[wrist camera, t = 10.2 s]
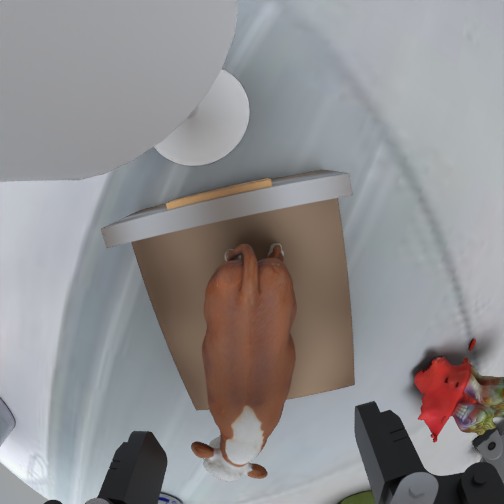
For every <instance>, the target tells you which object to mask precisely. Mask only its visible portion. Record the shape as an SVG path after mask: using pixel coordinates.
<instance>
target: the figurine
mask: <svg viewBox="0 0 504 504" xmlns="http://www.w3.org/2000/svg"><path fill="white" fill-rule="evenodd" d="M498 431H499V430H498V428H497V426H496V428H494V429H489V430H486V431H485V433H484V434H483V435H479V437H478V438H475V439H474V442H473V443H472V444H473V445H474V447H475V448H476V449H478V450H479V452H480V453H481V454H482V455H483V456H482V458H481V460H480V462H487V463H490V464H492V465H493V466H494V467H495V468H496V470H497V471H498V473H499V475H500V477H501V479H502V482H503V484H504V434H502V435H501V436H500V434H499V432H498Z"/></svg>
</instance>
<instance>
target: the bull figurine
mask: <svg viewBox="0 0 504 504" xmlns="http://www.w3.org/2000/svg"><path fill="white" fill-rule="evenodd" d="M241 254H243V256H244V261H243V260H241ZM224 257H225V260H226V262H225V263H223V264H221V265H220V266H219V267H218V268H217V269H216V271H215V272H214V274H213V275H212V277H211V279H210V280H209V282H208V285H207V287H206V291H205V302H204V317H205V320H206V323H207V329H206V335H205V337H204V340H203V344H202V358H203V363H204V370H205V378H206V386H207V394H208V397H207V400H208V405H209V409H210V412H211V414H212V416H213V418H214V421H215V423H216V424H217V426H218V427H219V429H220V432H221V435H220V437H218V438H215V439H214V440H212V441H211V442H210V444H209V445H207V444H204V443H201V442H194V443H192V445H191V449H192V451H193V452H194V453H195V455H196V456H198V457H200V458H203V459H204V462H203V464H204V467H205V469H206V470H207V471H208V472H210V473H212V475H213V476H215V477H217V478H218V479H220V480H224V481H227V482H231V481H234V480H237V479H239V477H240V476H241V474H242V473H245V474H247V475H248V476H250V477H252V478H258V479H261V478H264V477H266V476H267V471H266V469H265V468H264V467H262V466H260V465H258V464H251V463H249V462H250V461H252V460H253V459H254V458H255V457H256V456H257V455H258V454H259V453H260V452H261V450H262V449H263V447H264V445H265V443H266V441H267V438H268V437H269V436H270V434H271V433H272V431H273V430H274V428H275V427H276V426H277V424H278V422H279V420H280V417H281V415H282V411H283V407H284V403H285V400H286V398H287V396H288V393H289V390H290V386H291V381H292V375H293V371H294V367H295V361H296V352H295V345H294V341H293V338H292V336H291V334H290V330H291V327H292V324H293V322H294V319H295V316H296V311H297V304H296V298H295V294H294V289H293V281H292V278H291V275H290V273H289V272H288V270H287V267H286V265H285V264H284V263H283V261H284V258H283V257H284V252H283V250H282V246H281V244H279V243H275V244H272V245H271V247H270V251H269V252H268V255H267V258H266V259H262V260H260V261H258V262H257V259H256V256H255V253H254V251H253V249H252V247H251V246H250V245H248V244H241V245H239V246H238V247H236V248H235V249H234V250H233V249H229V250H227V251H226V253H225V256H224Z"/></svg>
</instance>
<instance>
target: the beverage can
mask: <svg viewBox="0 0 504 504" xmlns="http://www.w3.org/2000/svg"><path fill="white" fill-rule="evenodd" d="M158 504H181V502H180V501H178V500H177V499H175V498H173V497H171V496H168V495H165V494H161V493H160V496H159V501H158Z"/></svg>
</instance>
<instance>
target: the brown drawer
mask: <svg viewBox="0 0 504 504" xmlns="http://www.w3.org/2000/svg"><path fill="white" fill-rule="evenodd" d="M351 195H353V193H352V186H351V180H350V174H349V173H343V172H336V171H328V170H320V171H314V172H308V173H303V174H297V175H292V176H287V177H281V178H276V179H270V178H265V179H260V180H255V181H251V182H246V183H241V184H237V185H232V186H228V187H223V188H219V189H215V190H210V191H206V192H202V193H198V194H194V195H189V196H185V197H181V198H178V199H175V200H172V201H170V202H168V203H166V204H163V205H159V206H155V207H151V208H148V209H144V210H140V211H138V212H135V213H133V214H131V215H129V216H127V217H125V218H123V219H120V220H118V221H116V222H114V223H112V224H110V225H108V226H106V227H104V228H102V229H101V231H102V234H103V238H104V241H105V244H106V247H107V248H109V247H113V246H117V245H121V244H125V243H129V242H132V245H133V249H134V252H135V255H136V258H137V262H138V265H139V268H140V271H141V274H142V277H143V280H144V283H145V286H146V289H147V292H148V295H149V298H150V300H151V303H152V306H153V309H154V311H155V314H156V317H157V319H158V322H159V325H160V327H161V330H162V333H163V335H164V338H165V340H166V343H167V345H168V348H169V350H170V352H171V355H172V357H173V360H174V362H175V364H176V367H177V369H178V371H179V374H180V376H181V378H182V380H183V383H184V385H185V387H186V389H187V392H188V394H189V396H190V398H191V400H192V402H193V404H194V406H195V409H196V410H208V409H209V405H208V400H207V397H208V394H207V386H206V378H205V370H204V363H203V358H202V344H203V340H204V337H205V335H206V329H207V323H206V320H205V317H204V302H205V291H206V287H207V285H208V282H209V280H210V279H211V277H212V275H213V274H214V272H215V271H216V269H217V268H218V267H219V266H220V265H221V264H223V263H225V262H226V260H225V257H224V256H225V253H226V251H227V250H229V249H233V250H234V249H235V248H236V247H238V246H239V245H241V244H248V245H250V246H251V247H252V249H253V251H254V253H255V256H256V259H257V262H258V261H260V260H262V259H266V258H267V255H268V252H269V251H270V247H271V245H272V244H275V243H279V244H281V246H282V250H283V252H284V257H283V258H284V261H283V263H284V264H285V265H286V267H287V270H288V272H289V273H290V275H291V278H292V281H293V289H294V294H295V298H296V304H297V311H296V316H295V319H294V322H293V324H292V327H291V330H290V334H291V336H292V338H293V341H294V345H295V352H296V361H295V367H294V371H293V375H292V381H291V386H290V390H289V393H288V396H287V398H286V400H287V399H293V398H298V397H303V396H308V395H313V394H318V393H323V392H327V391H332V390H336V389H340V388H344V387H348V386H352V385H355V381H354V351H353V332H352V317H351V304H350V293H349V282H348V272H347V263H346V254H345V246H344V238H343V231H342V224H341V217H340V210H339V204H338V198H340V197H345V196H351ZM241 260H243V261H244V256H243V254H241Z"/></svg>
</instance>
